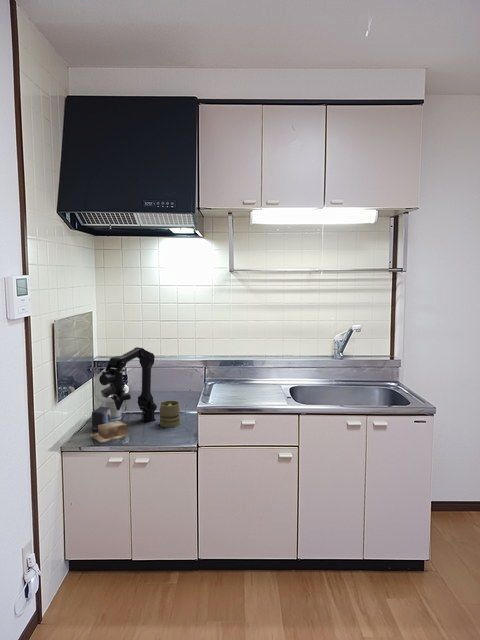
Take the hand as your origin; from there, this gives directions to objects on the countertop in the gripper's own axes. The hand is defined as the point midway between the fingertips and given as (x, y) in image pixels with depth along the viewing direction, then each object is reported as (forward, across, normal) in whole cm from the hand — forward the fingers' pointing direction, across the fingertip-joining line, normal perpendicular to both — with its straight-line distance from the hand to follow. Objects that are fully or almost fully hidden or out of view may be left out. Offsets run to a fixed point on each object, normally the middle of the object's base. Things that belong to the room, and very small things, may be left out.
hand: (118, 410), depth 250 cm
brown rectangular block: (+10, 0, +2) cm, 10 cm away
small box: (+13, -15, -3) cm, 20 cm away
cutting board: (+13, 0, -6) cm, 14 cm away
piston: (+13, +4, +29) cm, 32 cm away
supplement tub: (+13, -25, +8) cm, 29 cm away
